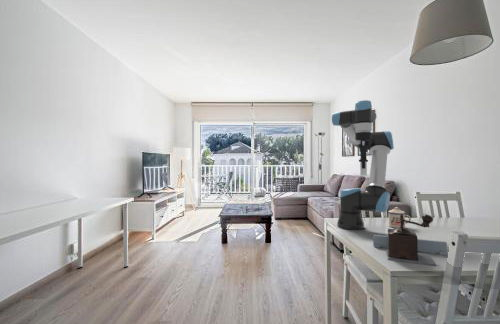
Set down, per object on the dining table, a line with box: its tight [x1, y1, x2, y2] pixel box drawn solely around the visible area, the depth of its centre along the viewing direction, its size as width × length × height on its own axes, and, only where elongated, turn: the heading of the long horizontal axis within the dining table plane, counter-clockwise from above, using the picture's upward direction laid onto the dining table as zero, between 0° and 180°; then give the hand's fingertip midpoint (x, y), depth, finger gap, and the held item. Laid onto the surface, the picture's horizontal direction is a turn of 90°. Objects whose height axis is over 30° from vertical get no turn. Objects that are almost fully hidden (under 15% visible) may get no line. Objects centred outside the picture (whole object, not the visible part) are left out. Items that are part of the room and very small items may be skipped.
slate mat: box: [385, 248, 437, 267], centre depth 108 cm, size 12×16×1 cm
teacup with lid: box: [387, 206, 412, 229], centre depth 159 cm, size 12×9×12 cm
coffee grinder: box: [387, 214, 434, 260], centre depth 108 cm, size 16×11×18 cm
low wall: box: [372, 234, 448, 256], centre depth 118 cm, size 4×28×5 cm, turn 66°
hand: (363, 175), depth 131 cm, fingers open, 13 cm apart
